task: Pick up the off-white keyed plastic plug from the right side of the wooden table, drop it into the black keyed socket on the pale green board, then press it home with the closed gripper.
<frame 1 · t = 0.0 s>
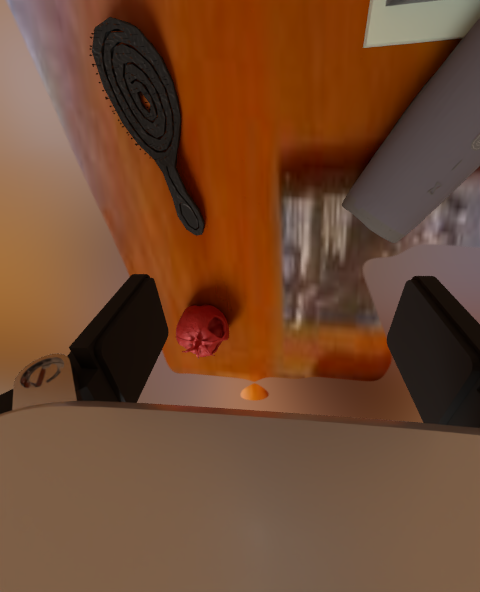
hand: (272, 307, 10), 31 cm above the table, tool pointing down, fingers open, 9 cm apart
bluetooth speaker: (420, 120, 31), on the table, touching socket board
hairbrush: (167, 148, 37), on the table
pomegranate: (206, 318, 53), on the table
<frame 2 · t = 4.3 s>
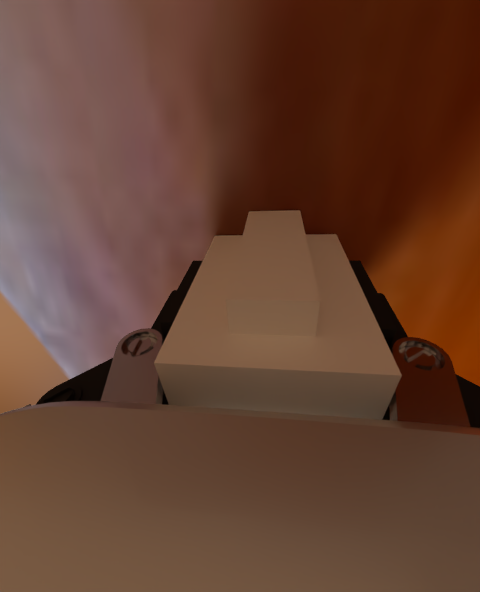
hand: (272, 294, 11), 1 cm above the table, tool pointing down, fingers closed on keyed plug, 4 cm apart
keyed plug: (273, 276, 12), on the table, touching gripper
when the fingers open (5 cm above the table, at t = 11.0 s): keyed plug drops 2 cm, resting on socket board.
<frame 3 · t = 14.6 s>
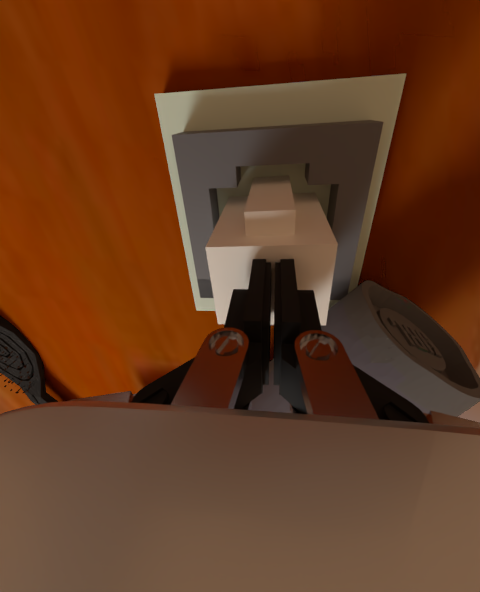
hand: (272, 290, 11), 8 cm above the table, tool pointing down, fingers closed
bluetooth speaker: (288, 360, 26), on the table, touching socket board
socket board: (272, 218, 18), on the table
hairbrush: (36, 368, 32), on the table
keyed plug: (271, 227, 17), point 1 cm above the table, touching gripper, socket board
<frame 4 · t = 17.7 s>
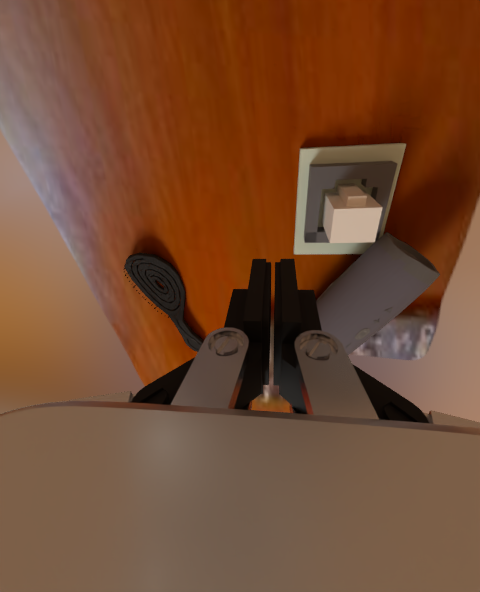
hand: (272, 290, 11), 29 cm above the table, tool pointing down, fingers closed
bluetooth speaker: (338, 288, 44), on the table, touching socket board
socket board: (341, 203, 37), on the table
hairbrush: (176, 304, 51), on the table
keyed plug: (342, 207, 36), point 1 cm above the table, touching socket board
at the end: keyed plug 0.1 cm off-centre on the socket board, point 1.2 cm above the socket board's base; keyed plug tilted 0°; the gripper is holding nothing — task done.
